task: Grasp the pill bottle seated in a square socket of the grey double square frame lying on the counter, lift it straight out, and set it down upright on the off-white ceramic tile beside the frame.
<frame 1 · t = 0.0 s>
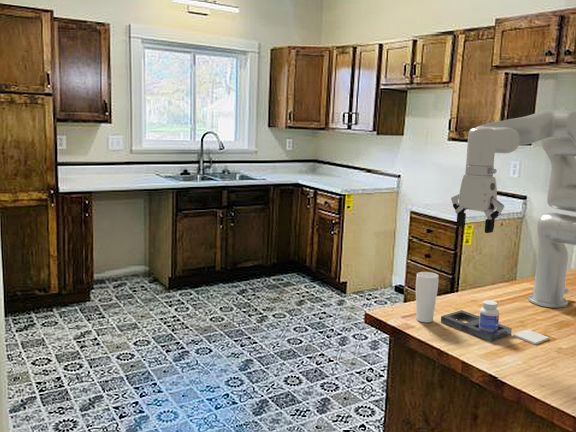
hand: (474, 229, 159), 31 cm above the worktop, fingers open, 9 cm apart
pill bottle: (487, 334, 162), resting in grey double square frame
tile: (530, 337, 159), on the worktop
grey double square frame: (475, 328, 165), on the worktop
drinking glass: (424, 320, 171), on the worktop
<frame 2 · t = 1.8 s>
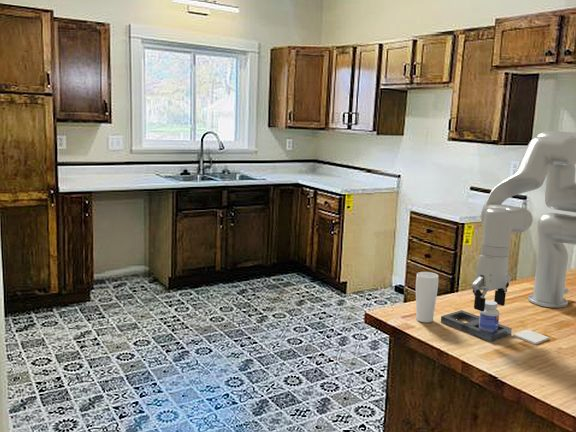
hand: (489, 307, 160), 8 cm above the worktop, fingers open, 9 cm apart
nothing on the worktop moved.
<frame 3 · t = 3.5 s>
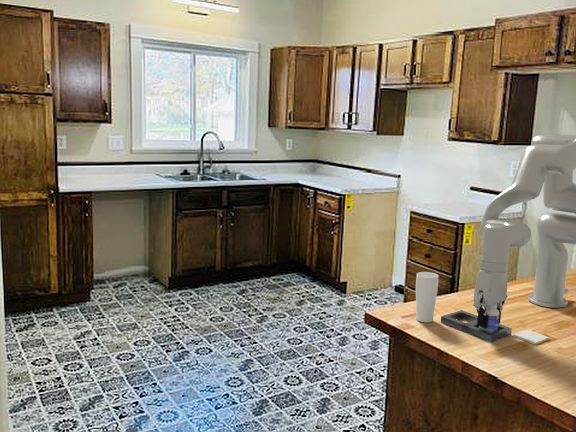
hand: (488, 323, 161), 3 cm above the worktop, fingers closed on pill bottle, 5 cm apart
pill bottle: (487, 333, 162), resting in grey double square frame, touching gripper
everything else where it was.
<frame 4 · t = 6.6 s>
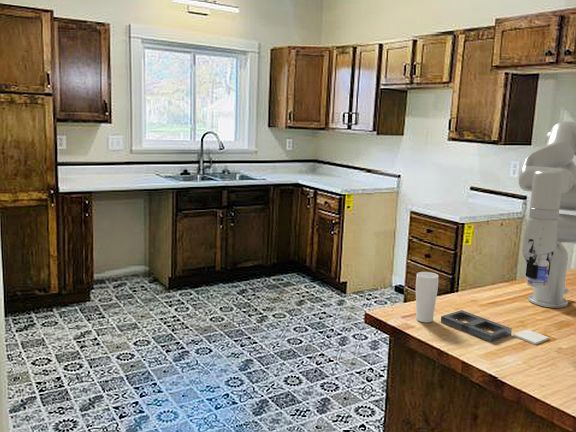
hand: (537, 275, 156), 19 cm above the worktop, fingers closed on pill bottle, 5 cm apart
pill bottle: (536, 286, 156), point 16 cm above the worktop, touching gripper
everything else where it was.
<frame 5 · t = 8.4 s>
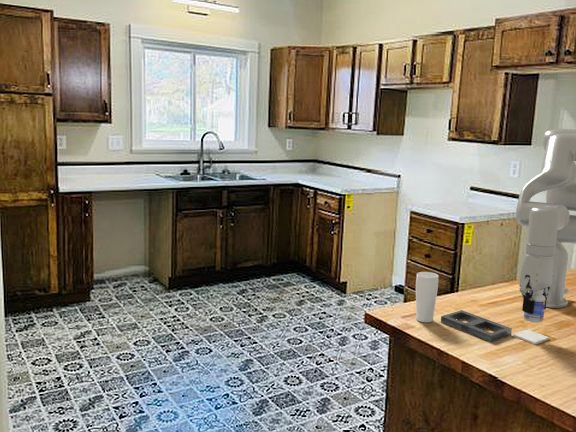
hand: (533, 309, 157), 9 cm above the worktop, fingers closed on pill bottle, 5 cm apart
pill bottle: (532, 320, 158), point 5 cm above the worktop, touching gripper
everything else where it was.
when the fingers open (5 cm above the worktop, at t = 10.0 s): pill bottle drops 1 cm, resting on tile.
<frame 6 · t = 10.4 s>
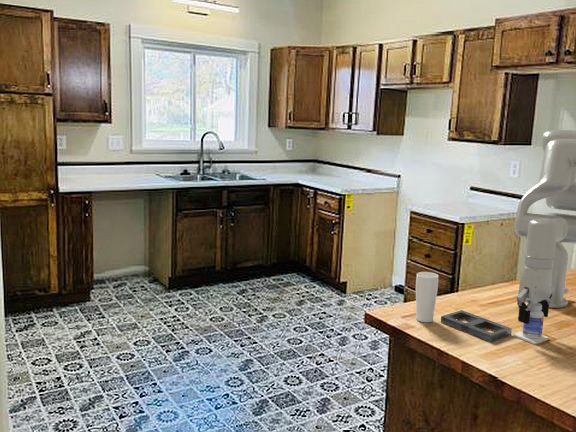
hand: (532, 319, 158), 6 cm above the worktop, fingers open, 9 cm apart
pill bottle: (531, 336, 159), resting on tile
everything else where it was.
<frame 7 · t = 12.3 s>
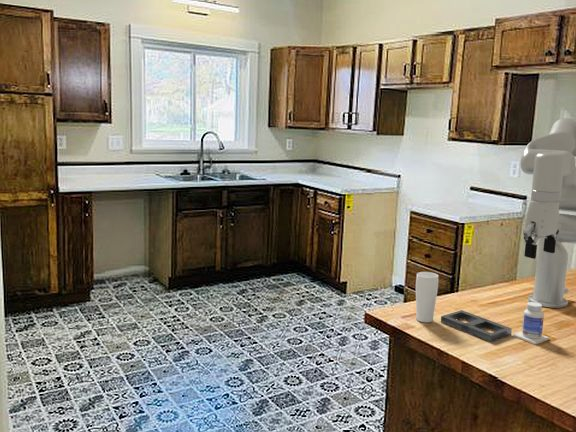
hand: (539, 254, 156), 25 cm above the worktop, fingers open, 9 cm apart
nothing on the worktop moved.
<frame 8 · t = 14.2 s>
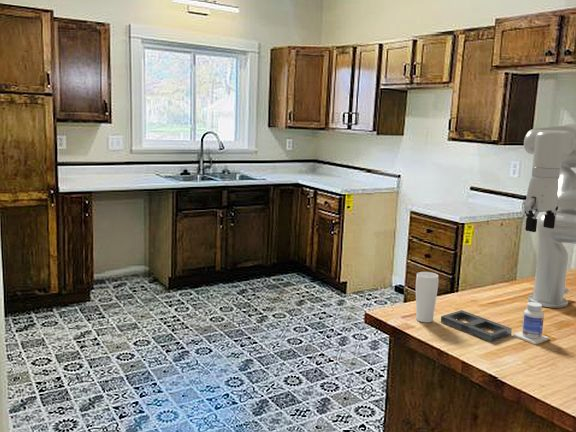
hand: (539, 229, 164), 30 cm above the worktop, fingers open, 9 cm apart
nothing on the worktop moved.
at the end: pill bottle inside the target area on the tile (0.3 cm from its centre), point 0.4 cm above the tile's base; pill bottle tilted 0°; the gripper is holding nothing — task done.
